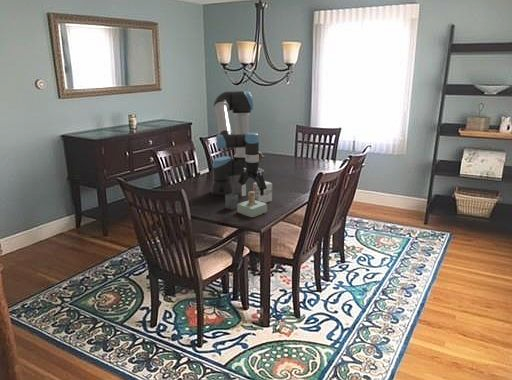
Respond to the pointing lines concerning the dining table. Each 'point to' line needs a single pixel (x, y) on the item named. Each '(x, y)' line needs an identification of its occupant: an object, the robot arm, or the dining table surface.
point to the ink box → (267, 192)
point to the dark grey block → (231, 201)
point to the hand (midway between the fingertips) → (252, 198)
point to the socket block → (252, 208)
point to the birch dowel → (251, 198)
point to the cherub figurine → (260, 161)
